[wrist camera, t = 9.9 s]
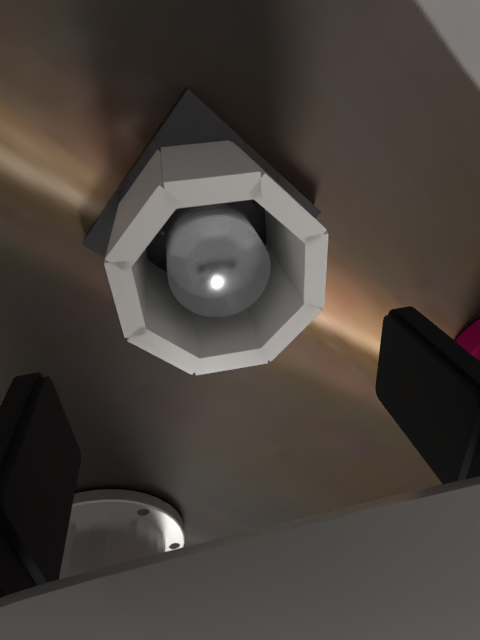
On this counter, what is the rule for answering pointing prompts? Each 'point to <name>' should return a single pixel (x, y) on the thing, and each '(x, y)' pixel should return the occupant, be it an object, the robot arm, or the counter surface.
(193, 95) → the duct stub
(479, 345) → the pepper mill
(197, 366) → the white hollow octagonal tube
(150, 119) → the counter surface
